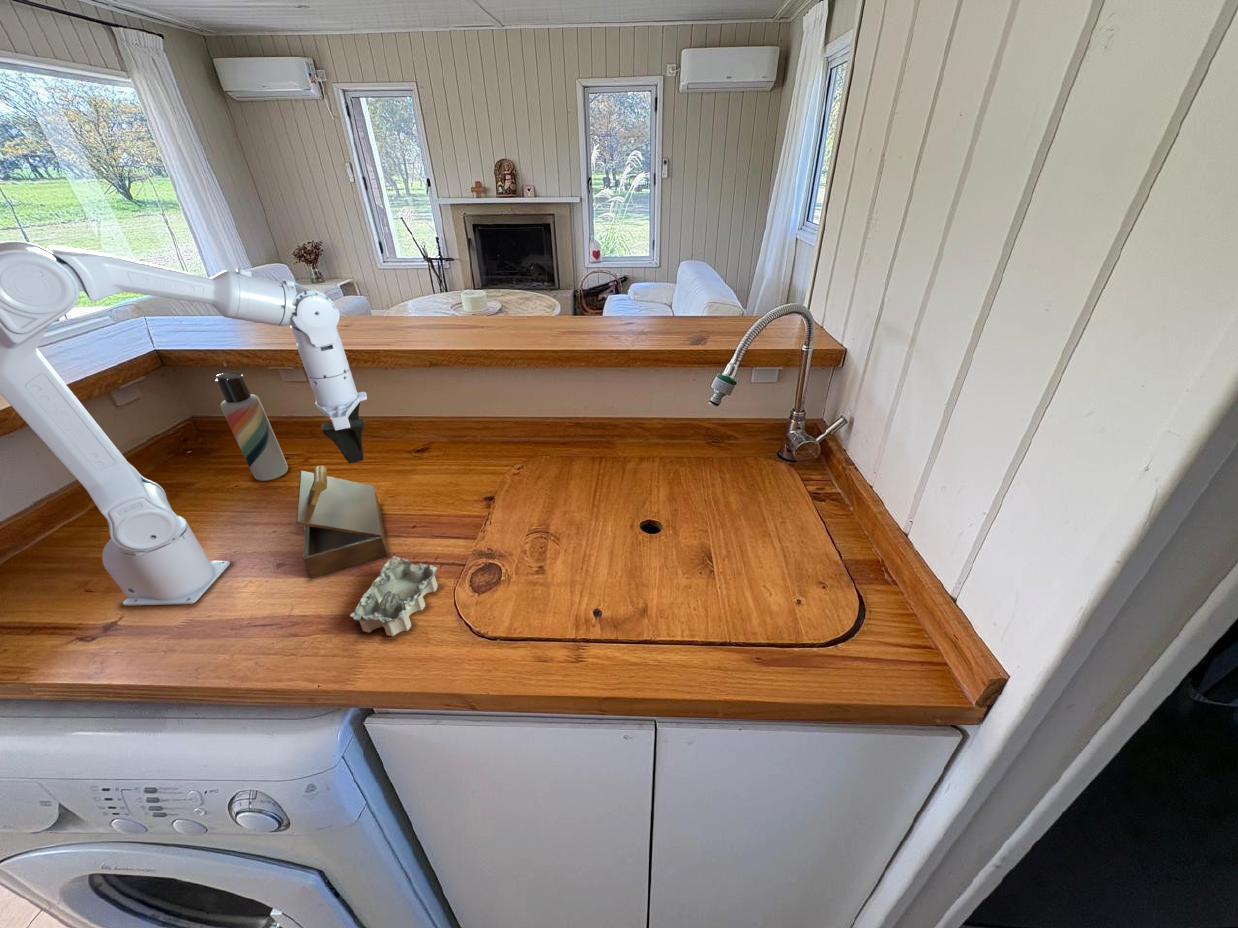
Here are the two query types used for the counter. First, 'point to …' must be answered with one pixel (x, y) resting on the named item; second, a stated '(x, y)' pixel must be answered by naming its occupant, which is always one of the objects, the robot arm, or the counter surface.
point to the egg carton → (395, 596)
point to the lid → (337, 504)
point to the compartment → (340, 549)
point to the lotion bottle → (251, 428)
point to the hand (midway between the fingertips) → (355, 450)
